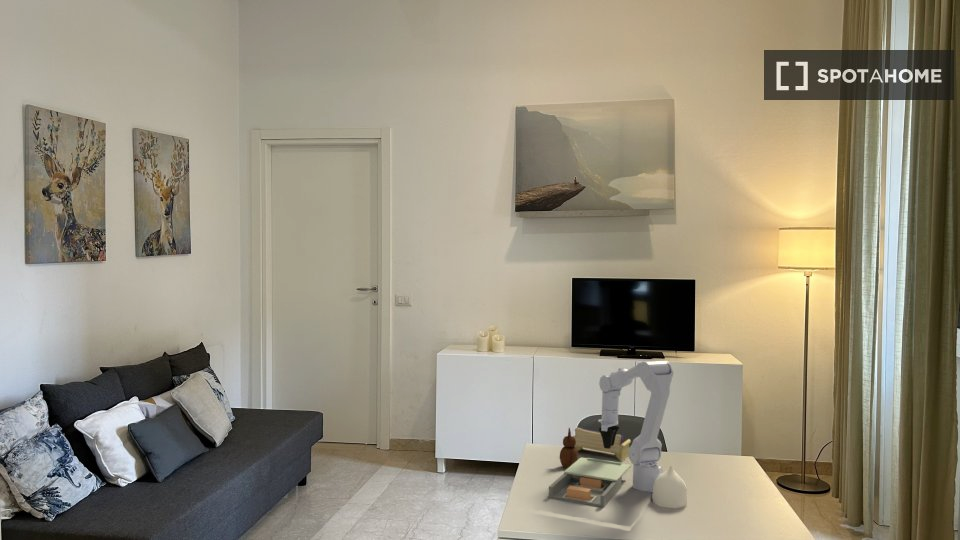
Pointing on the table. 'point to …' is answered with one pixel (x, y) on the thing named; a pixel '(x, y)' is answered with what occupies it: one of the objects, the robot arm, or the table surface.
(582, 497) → the block
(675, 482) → the teardrop
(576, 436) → the toy sofa
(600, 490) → the housing
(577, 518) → the table surface
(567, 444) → the wooden figurine
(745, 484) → the table surface
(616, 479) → the lid
